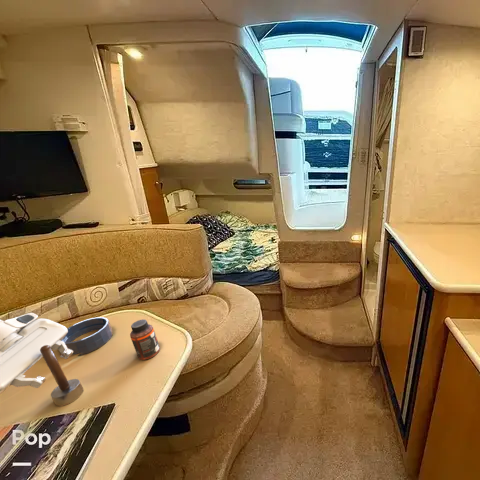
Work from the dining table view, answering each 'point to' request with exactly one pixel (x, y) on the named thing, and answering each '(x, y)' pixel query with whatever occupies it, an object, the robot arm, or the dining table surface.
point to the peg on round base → (61, 380)
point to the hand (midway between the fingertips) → (57, 368)
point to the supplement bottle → (144, 339)
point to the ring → (91, 341)
